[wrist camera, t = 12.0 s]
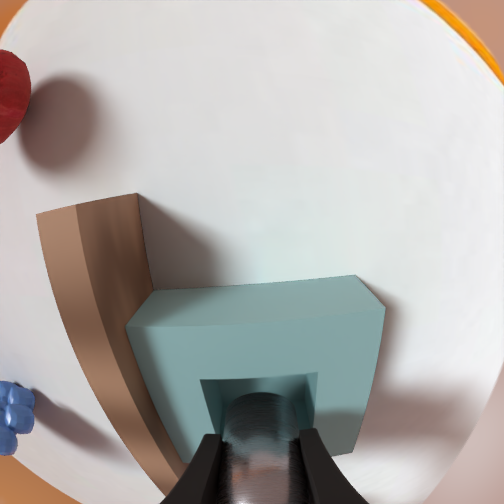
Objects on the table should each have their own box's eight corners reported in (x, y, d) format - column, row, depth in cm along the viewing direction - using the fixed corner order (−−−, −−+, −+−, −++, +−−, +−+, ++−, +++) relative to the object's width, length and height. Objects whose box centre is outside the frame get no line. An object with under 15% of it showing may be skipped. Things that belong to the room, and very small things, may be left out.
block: (338, 408, 16) (352, 452, 12) (193, 418, 16) (182, 462, 12) (352, 272, 13) (385, 307, 9) (155, 287, 13) (124, 326, 10)
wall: (206, 457, 17) (198, 506, 12) (182, 456, 17) (172, 503, 12) (137, 192, 12) (75, 204, 7) (102, 199, 12) (35, 214, 7)
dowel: (298, 429, 11) (314, 552, 5) (234, 436, 11) (225, 556, 5) (292, 387, 10) (314, 539, 4) (218, 395, 11) (197, 542, 4)
